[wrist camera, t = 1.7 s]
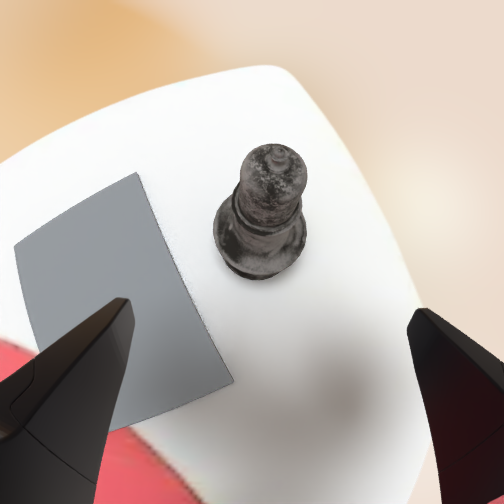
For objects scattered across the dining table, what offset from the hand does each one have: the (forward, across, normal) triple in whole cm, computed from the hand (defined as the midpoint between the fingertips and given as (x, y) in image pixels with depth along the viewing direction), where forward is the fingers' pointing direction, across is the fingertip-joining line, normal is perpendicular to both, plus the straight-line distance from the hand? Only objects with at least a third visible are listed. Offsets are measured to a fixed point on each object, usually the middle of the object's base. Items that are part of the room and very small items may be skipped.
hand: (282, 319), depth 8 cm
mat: (+9, +12, +8) cm, 17 cm away
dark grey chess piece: (+13, 0, +5) cm, 14 cm away
